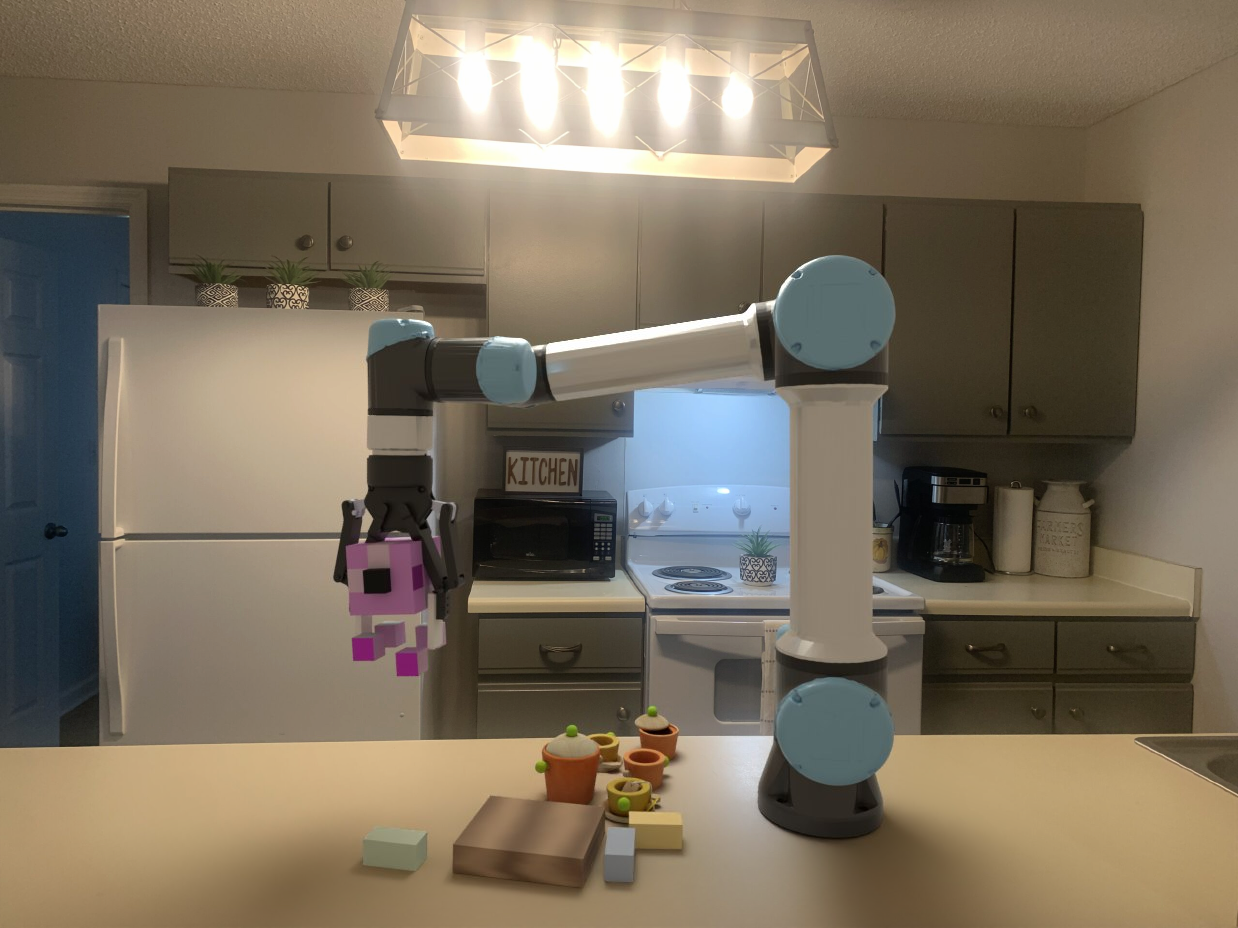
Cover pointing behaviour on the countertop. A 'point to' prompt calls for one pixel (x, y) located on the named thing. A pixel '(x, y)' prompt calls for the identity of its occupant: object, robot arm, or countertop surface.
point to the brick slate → (619, 854)
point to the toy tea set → (610, 766)
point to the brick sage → (395, 848)
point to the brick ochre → (657, 829)
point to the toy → (390, 599)
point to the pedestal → (531, 841)
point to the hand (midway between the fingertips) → (399, 643)
